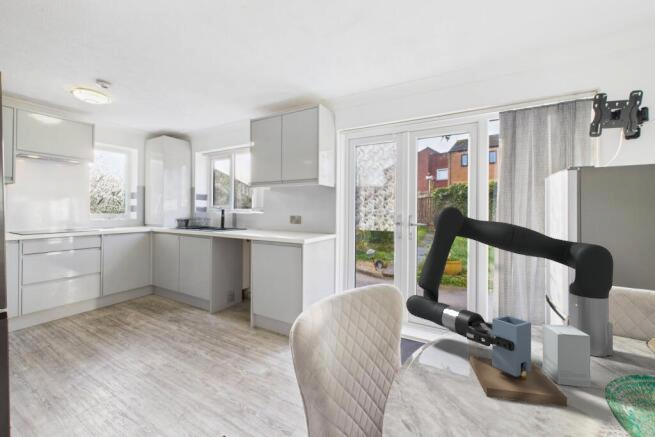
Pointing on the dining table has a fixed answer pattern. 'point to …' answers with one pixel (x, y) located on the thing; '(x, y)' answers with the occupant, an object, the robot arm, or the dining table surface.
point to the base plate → (516, 384)
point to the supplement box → (566, 355)
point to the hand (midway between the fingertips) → (521, 344)
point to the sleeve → (522, 345)
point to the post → (522, 376)
